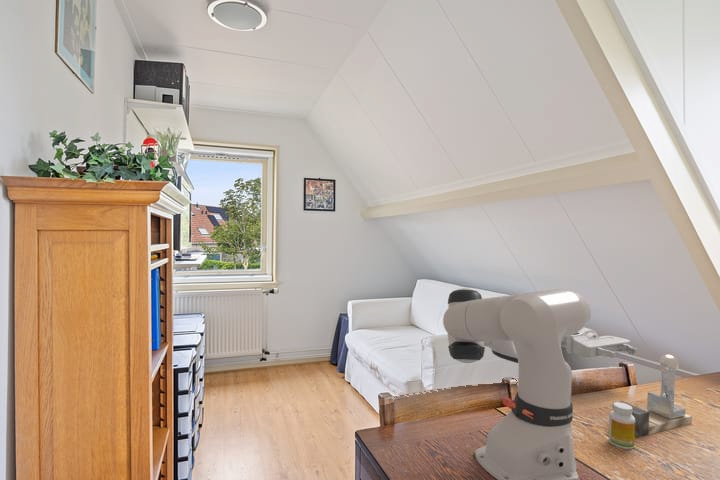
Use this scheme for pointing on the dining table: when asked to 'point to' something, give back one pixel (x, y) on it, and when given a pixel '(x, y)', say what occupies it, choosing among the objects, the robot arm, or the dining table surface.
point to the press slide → (666, 390)
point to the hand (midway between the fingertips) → (625, 353)
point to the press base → (654, 421)
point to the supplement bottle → (622, 426)
